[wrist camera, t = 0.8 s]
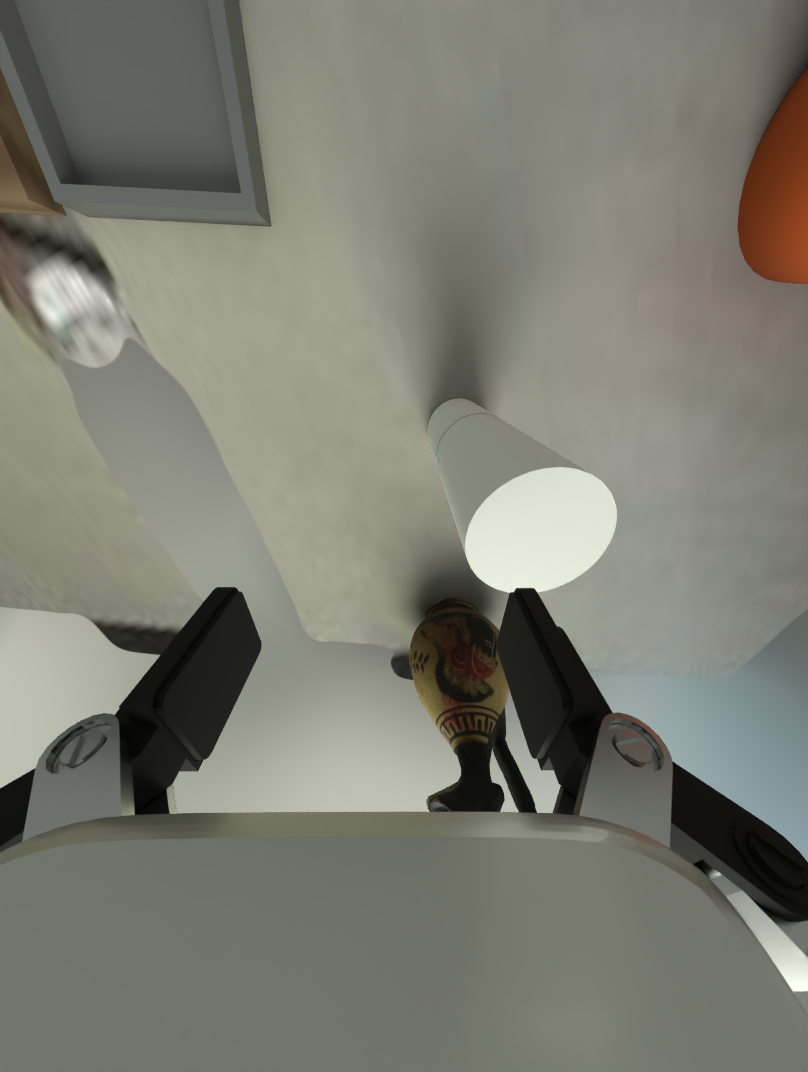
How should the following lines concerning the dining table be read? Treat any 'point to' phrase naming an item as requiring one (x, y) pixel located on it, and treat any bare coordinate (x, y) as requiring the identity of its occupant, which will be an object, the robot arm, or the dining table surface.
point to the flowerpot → (779, 194)
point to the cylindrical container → (517, 501)
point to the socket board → (20, 165)
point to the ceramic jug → (467, 705)
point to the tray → (138, 107)
